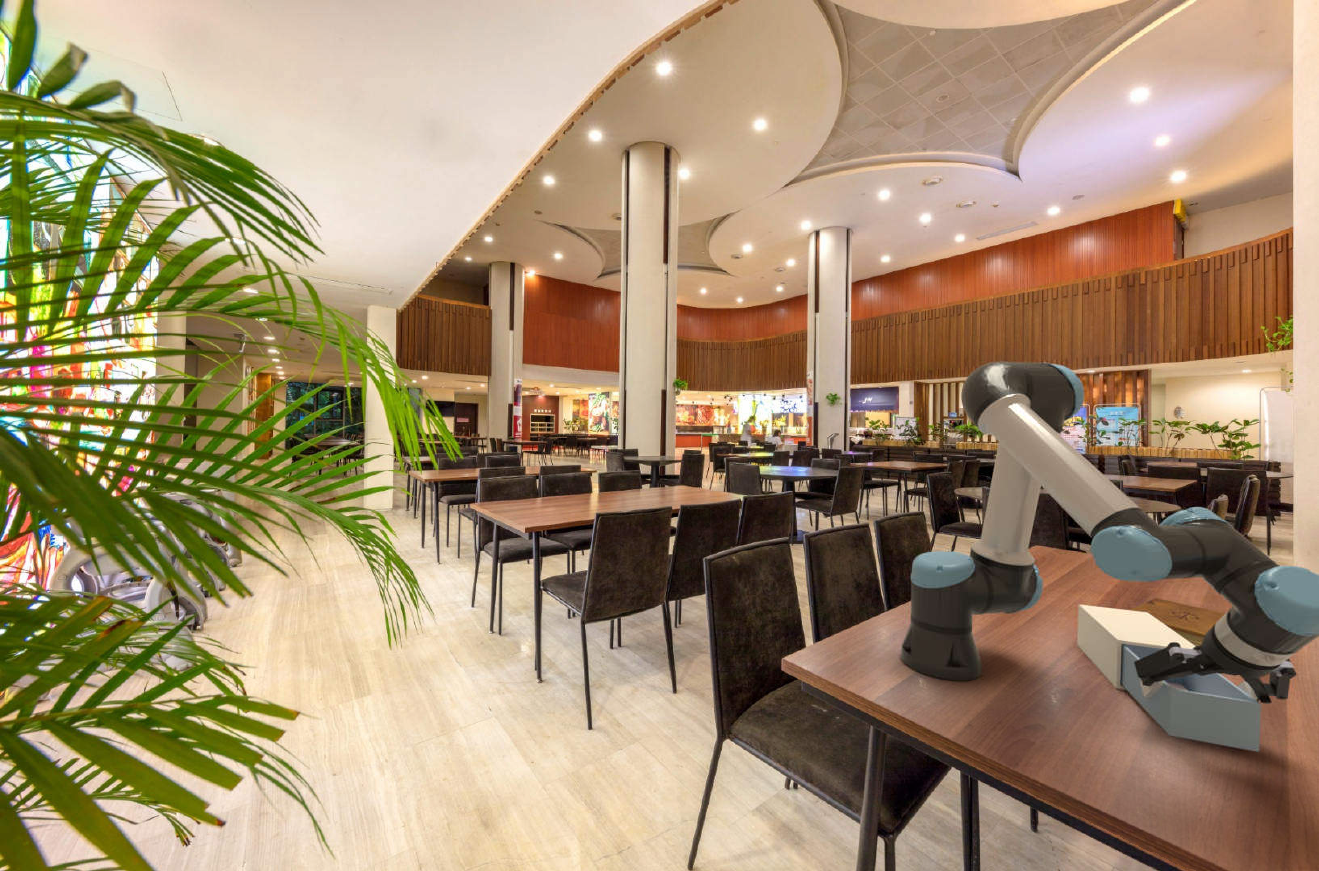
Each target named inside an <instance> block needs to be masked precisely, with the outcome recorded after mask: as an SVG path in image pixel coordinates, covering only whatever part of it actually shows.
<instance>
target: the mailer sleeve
mask: <svg viewBox="0 0 1319 871" xmlns="http://www.w3.org/2000/svg"><path fill="white" fill-rule="evenodd" d="M1077 611H1078V613H1077V642H1076V643H1077V646H1078V648H1080V649H1081V651H1082V652H1083V653H1084V654H1085V656H1087V657H1088V659H1089V660H1091V662H1092V663H1093V665H1094V666H1096V668H1097V669H1098V670H1099V671H1100V672H1101V673H1102V674H1103V675H1104V676H1105V678H1106V679H1107V680H1108V681H1109V682H1110V683H1111V685H1112V686H1114V687H1115V689H1116V690H1117V689H1118V690H1123V691H1127V689H1126V688H1125V687H1124V686H1123V685H1122V684H1121V683H1120V677H1121V647H1122V644H1129V645H1136V646H1143V647H1150V648H1158V649H1164V648H1166V647H1167V646H1168V645H1169V643H1171V642H1177V643H1179V644H1180V646H1181V648H1186V649H1193V648H1194V647H1196V646H1194V645H1193V644H1192V643H1190V642H1189V641H1187V640H1186V639H1185V638H1183V637H1182V636H1180V635H1179V634H1177V633H1176V632H1175V631H1173V630H1172V629H1170V628H1169V627H1167V626H1166V625H1165V624H1163V623H1162V622H1160V621H1159V620H1158V619H1156V618H1155V617H1153V616H1152V615H1150V614H1149V613H1147V612H1139V611H1130V609H1119V608H1113V607H1104V606H1094V605H1087V604H1078V610H1077Z"/></svg>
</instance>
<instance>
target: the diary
mask: <svg viewBox="0 0 1319 871" xmlns="http://www.w3.org/2000/svg"><path fill="white" fill-rule="evenodd" d="M1129 610H1130V611H1139V612H1147V613H1149V614H1150V615H1152V616H1153V617H1155V618H1156V619H1158V620H1159V621H1160V622H1162V623H1163V624H1165V625H1166V626H1167V627H1169V628H1170V629H1172V630H1173V631H1175V632H1176V633H1177V634H1179V635H1180V636H1182V637H1183V638H1185V639H1186V640H1187V641H1189V642H1190V643H1192V644H1193V645H1194V646H1199V645H1201V644H1202V641H1203V638H1204V636H1205V634H1206V633H1207V632H1208V631H1209V630H1210V629H1211V628H1212V627H1213V626H1214V625H1215V624H1216V622H1217V621H1218V620H1219V619H1220V618H1221V617H1222V616H1223V615H1224V614H1225V612H1221V611H1216V610H1211V609H1207V608H1202V607H1198V606H1194V605H1190V604H1185V603H1181V602H1176V601H1173V600H1172V601H1171V600H1167V599H1162V598H1157V597H1156V598H1153V599H1150V600H1149V601H1147V602H1144V603H1141V604H1139V605H1137V606H1135V607H1132V608H1130V609H1129Z"/></svg>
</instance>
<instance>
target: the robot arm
mask: <svg viewBox="0 0 1319 871" xmlns="http://www.w3.org/2000/svg"><path fill="white" fill-rule="evenodd" d="M960 395H961V396H960V399H961V406H962V408H963V410H964V413H965V414H966V415H967V417H968V419H969V420H970V421H971V423H973V425H974V426H975V427H976V428H977V429H978V430H979V431H980V432H981V433H983V435H984V434H985V435H988V436H989V435H990V436H991V435H992V436H993V437H994V438H995V439H996V441H997V442H998V445H997V450H996V457H995V461H994V467H993V472H992V478H991V483H990V488H989V495H988V499H987V504H986V509H985V516H984V521H983V525H982V531H981V535H980V539H979V540H977V541H975V542H973V543H972V544H971V546H970V547H971V548H970V551H969V555H968V554H965V553H963V552H959V551H949V550H947V551H942V550H936V551H927V552H924V553H920V554H919V555H917V556H916V557H915V558H914V560H913V562H912V566H911V567H912V568H911V573H910V582H911V590H910V591H911V592H910V594H911V596H910V598H911V599H910V622H909V623H910V624H909V627H908V629H907V630H906V634H905V636H904V638H903V642H902V643H901V648H900V658H901V660H902V662H903V663H904V664H905V665H907V666H908V667H909V668H910V669H913V670H914V671H916V672H919V673H922V674H924V675H927V676H929V677H934V678H938V679H941V680H948V681H959V682H961V681H972V680H975V679H978V678H979V677H980V676H981V673H982V659H981V657H980V655H979V654H980V653H979V651H978V648H977V644H976V641H975V638H974V635H973V620H974V619H973V618H974V617H973V616H976V615H987V614H988V615H989V614H1002V613H1003V614H1013V613H1017V612H1022V611H1026V610H1029V609H1031V608H1032V607H1034V606H1035V605H1036V604H1037V603H1038V602H1039V601H1040V599H1041V596H1042V593H1043V590H1044V582H1043V577H1041V576H1040V575H1039V574H1040V573H1041V572H1040V570H1039V568H1038V567H1037V565H1036V564H1035V559H1036V558H1034V556H1033V555H1032V554H1031V553H1030V551H1029V546H1030V541H1031V535H1032V532H1033V526H1034V521H1035V518H1036V510H1037V508H1038V507H1037V506H1038V502H1039V498H1040V493H1041V488H1043V489H1044V490H1045V491H1046V492H1047V494H1049V495H1050V496H1051V497H1052V498H1053V500H1055V501H1056V503H1058V505H1059V506H1060V507H1061V508H1062V509H1063V510H1064V511H1065V513H1067V515H1069V516H1070V517H1071V518H1072V520H1074V522H1075V523H1077V525H1078V526H1080V528H1081V529H1082V530H1083V531H1084V532H1085V533H1086V535H1088V537H1090V538H1091V539H1092V541H1091V545H1090V552H1091V555H1092V556H1093V559H1094V563H1095V564H1096V566H1097V567H1098V568H1099V569H1100V570H1101V571H1102V572H1103V573H1104V574H1106V575H1107V576H1108V577H1111V578H1114V579H1115V580H1120V581H1123V582H1125V581H1127V582H1140V583H1141V582H1142V583H1151V582H1158V581H1162V580H1172V579H1190V578H1202V580H1203V581H1205V582H1206V584H1208V585H1209V586H1210V588H1212V589H1213V590H1214V591H1216V593H1218V595H1221V596H1222V597H1223V598H1224V599H1225V600H1226V601H1227V602H1228V603H1229V604H1230V605H1231V607H1230V608H1229V609H1228V610H1227V611H1226V613H1225V612H1224V613H1225V614H1224V615H1223V616H1222V617H1221V618H1220V619H1219V620H1218V621H1217V622H1216V624H1215V625H1214V626H1213V627H1212V628H1211V629H1210V630H1209V631H1208V632H1207V633H1206V634H1205V636H1204V638H1203V641H1202V644H1201V645H1199V646H1196V647H1194V648H1193V649H1186V648H1181V646H1180V644H1179V643H1177V642H1171V643H1169V645H1168V646H1167V647H1166V648H1164V649H1162V650H1160V651H1157V652H1155V653H1153V654H1151V655H1148V656H1146V657H1144V658H1141V659H1139V660H1137V661H1135V662H1134V665H1135V668H1136V672H1137V675H1138V677H1139V678H1141V681H1140V684H1141V688H1142V691H1143V694H1144V697H1145V698H1150V697H1151V696H1152V695H1153V694H1154V693H1155V692H1156V691H1157V690H1158V689H1159V688H1160V687H1161V686H1162V685H1163V681H1164V680H1168V679H1173V678H1178V677H1183V676H1187V675H1192V674H1197V675H1200V676H1204V675H1209V674H1214V673H1218V674H1221V675H1223V674H1225V675H1229V676H1235V677H1237V676H1240V677H1241V678H1242V679H1243V681H1242V682H1241V683H1239V684H1238V685H1236V686H1237V687H1239V688H1240V689H1241V690H1243V691H1244V692H1245V693H1247V694H1248V695H1250V696H1251V697H1252V698H1254V699H1255V700H1256V701H1258V702H1260V703H1261V704H1265V705H1266V704H1268V705H1269V704H1272V699H1271V698H1270V696H1271V697H1275V698H1276V699H1278V700H1283V701H1284V700H1287V699H1288V697H1289V691H1290V684H1291V679H1294V678H1295V677H1296V676H1297V675H1298V674H1297V672H1296V670H1295V668H1294V666H1293V663H1292V661H1291V660H1290V658H1292V656H1294V655H1295V654H1296V653H1298V652H1299V651H1300V650H1302V649H1303V648H1304V647H1305V646H1307V645H1308V644H1310V643H1312V641H1314V640H1316V639H1317V638H1318V637H1319V574H1317V573H1315V572H1312V571H1311V570H1310V569H1308V568H1306V567H1302V566H1301V567H1300V566H1297V565H1295V566H1294V565H1280V564H1278V563H1276V562H1275V561H1274V560H1273V559H1272V558H1270V557H1269V556H1268V555H1267V554H1266V553H1264V552H1263V551H1262V550H1261V549H1260V548H1259V547H1257V546H1256V545H1255V544H1254V543H1252V542H1251V541H1250V540H1249V539H1248V538H1246V537H1245V535H1242V533H1240V532H1239V531H1238V530H1236V529H1235V527H1233V525H1232V524H1231V523H1230V522H1228V521H1227V520H1224V519H1223V518H1221V517H1220V516H1219V515H1217V514H1216V513H1214V512H1213V511H1212V510H1210V509H1208V508H1206V507H1203V506H1202V507H1201V506H1194V507H1189V508H1187V509H1185V510H1183V509H1182V510H1179V511H1177V512H1174V513H1172V514H1171V515H1169V516H1168V517H1166V518H1165V519H1164V520H1162V522H1160V524H1158V522H1156V521H1155V520H1154V519H1153V518H1152V517H1151V516H1150V515H1149V514H1147V512H1145V511H1144V510H1143V509H1142V508H1140V506H1138V505H1137V504H1136V503H1135V502H1134V501H1133V500H1131V498H1129V497H1128V496H1127V495H1126V493H1124V492H1123V491H1122V490H1120V489H1119V488H1118V486H1116V485H1115V484H1114V483H1113V482H1112V481H1110V479H1109V478H1108V477H1106V475H1104V474H1103V473H1102V472H1101V471H1100V470H1098V468H1096V466H1094V464H1092V463H1091V462H1090V461H1089V460H1088V459H1087V458H1085V457H1084V456H1083V455H1082V453H1080V452H1079V451H1078V450H1077V449H1076V448H1075V447H1074V446H1072V444H1070V443H1069V441H1067V440H1066V439H1065V438H1064V437H1063V436H1061V435H1062V433H1063V428H1064V427H1063V426H1064V425H1065V424H1064V423H1065V422H1066V421H1068V420H1070V419H1071V418H1073V417H1074V416H1075V415H1077V414H1078V413H1079V412H1080V410H1081V409H1082V407H1083V404H1084V400H1085V389H1084V385H1083V383H1082V381H1081V379H1080V378H1079V376H1077V374H1076V372H1074V371H1073V370H1072V369H1071V368H1068V367H1066V366H1064V365H1060V364H1056V363H1049V362H1048V363H1047V362H1020V361H1018V362H1017V361H1003V360H1002V361H999V360H997V361H991V362H988V363H986V364H983V365H981V366H979V367H977V368H976V369H974V370H973V371H972V372H970V374H969V375H968V376H967V378H966V379H965V381H964V382H963V385H962V388H961V393H960ZM1200 665H1201V666H1202V667H1203V668H1201V666H1200ZM1266 676H1269V681H1268V683H1264V682H1263V680H1262V679H1261V678H1263V677H1266Z"/></svg>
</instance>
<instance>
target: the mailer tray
mask: <svg viewBox="0 0 1319 871" xmlns="http://www.w3.org/2000/svg"><path fill="white" fill-rule="evenodd" d="M1160 650H1162V649H1158V648H1150V647H1143V646H1136V645H1129V644H1122V647H1121V677H1120V683H1121V684H1122V685H1123V686H1124V687H1125V688H1126V689H1127V690H1126V691H1127V692H1128V693H1129V694H1130V695H1131V696H1132V697H1133V698H1134V700H1136V701H1137V703H1139V705H1140V706H1141V707H1142V708H1143V709H1144V710H1145V711H1146V712H1147V713H1148V714H1149V715H1150V716H1151V718H1152V719H1153V720H1155V722H1156V723H1157V724H1158V725H1159V726H1160V727H1161V729H1163V731H1165V733H1166V734H1167V735H1169V736H1171V737H1176V738H1182V739H1187V740H1194V741H1197V742H1203V743H1209V744H1213V745H1219V746H1220V745H1221V746H1223V747H1231V748H1237V749H1241V750H1245V751H1246V750H1248V751H1251V752H1257V753H1259V752H1260V741H1261V740H1260V739H1261V738H1260V737H1261V736H1260V735H1261V717H1262V716H1261V714H1262V713H1261V712H1262V703H1261V702H1260V701H1256V700H1255V699H1254V698H1252V697H1251V696H1250V695H1248V694H1247V693H1245V692H1244V691H1243V690H1241V689H1240V688H1239V687H1237V686H1238V685H1237V684H1235V683H1233V682H1232V681H1231V680H1229V679H1228V678H1226V677H1225V676H1224V675H1223V674H1218V673H1214V674H1209V675H1204V676H1200V675H1197V674H1192V675H1187V676H1183V677H1178V678H1173V679H1168V680H1164V681H1163V685H1162V686H1161V687H1160V688H1159V689H1158V690H1157V691H1156V692H1155V693H1154V694H1153V695H1152V696H1151V697H1150V698H1145V697H1144V694H1143V691H1142V688H1141V684H1140V681H1141V678H1139V677H1138V675H1137V672H1136V668H1135V665H1134V662H1135V661H1137V660H1139V659H1141V658H1144V657H1146V656H1148V655H1151V654H1153V653H1155V652H1157V651H1160ZM1200 666H1201V665H1200ZM1201 668H1203V667H1202V666H1201Z"/></svg>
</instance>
